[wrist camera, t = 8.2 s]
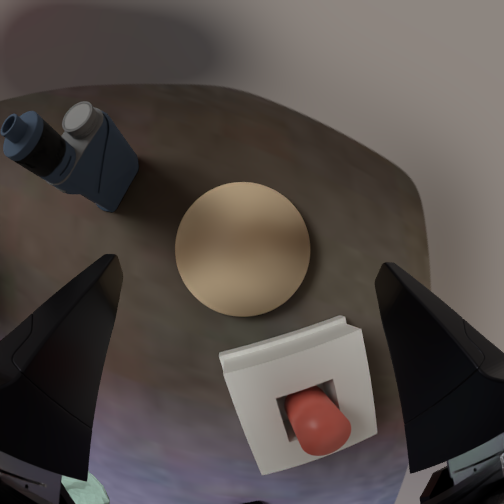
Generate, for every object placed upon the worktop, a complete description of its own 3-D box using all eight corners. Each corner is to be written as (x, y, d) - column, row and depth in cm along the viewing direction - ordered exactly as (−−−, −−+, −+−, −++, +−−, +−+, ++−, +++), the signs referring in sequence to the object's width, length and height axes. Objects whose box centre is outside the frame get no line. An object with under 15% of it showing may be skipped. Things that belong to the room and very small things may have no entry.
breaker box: (359, 413, 18) (381, 434, 14) (254, 449, 17) (259, 479, 13) (339, 315, 19) (364, 322, 15) (219, 352, 18) (216, 370, 14)
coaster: (320, 293, 19) (325, 294, 18) (197, 329, 18) (195, 331, 17) (285, 175, 20) (288, 170, 19) (165, 205, 19) (162, 201, 18)
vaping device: (89, 206, 18) (-16, 144, 6) (122, 149, 19) (50, 52, 7) (112, 220, 18) (4, 157, 6) (146, 160, 19) (79, 53, 7)
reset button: (328, 411, 16) (353, 443, 11) (289, 425, 15) (305, 462, 11) (320, 378, 16) (347, 406, 11) (279, 392, 15) (295, 425, 11)
